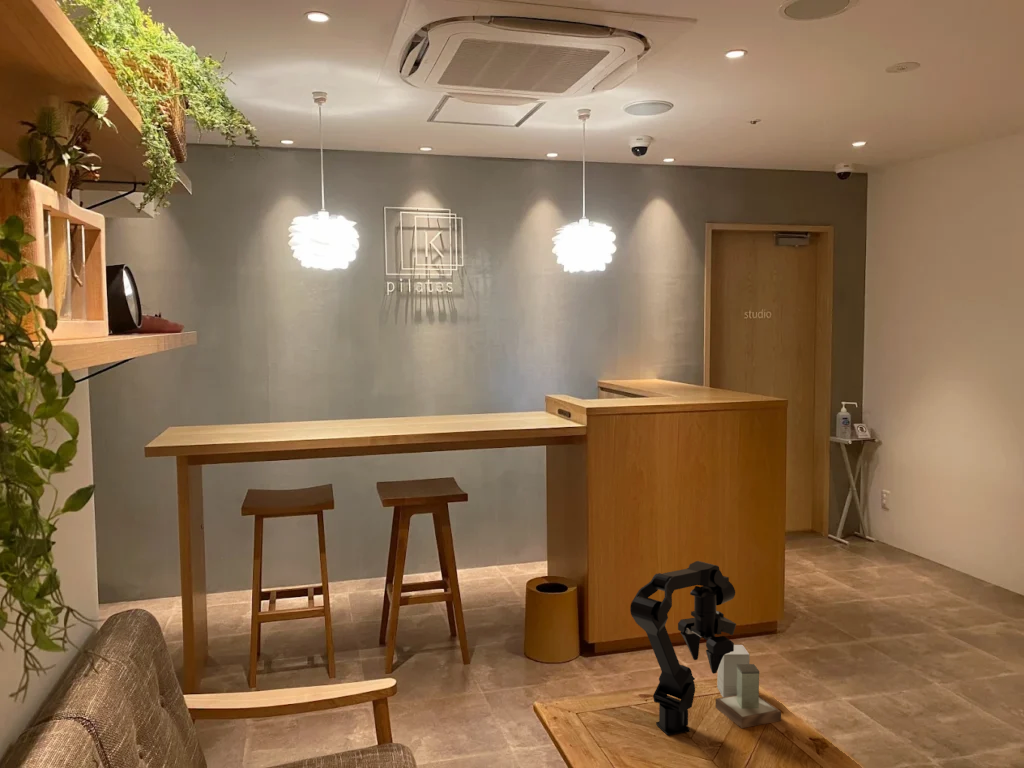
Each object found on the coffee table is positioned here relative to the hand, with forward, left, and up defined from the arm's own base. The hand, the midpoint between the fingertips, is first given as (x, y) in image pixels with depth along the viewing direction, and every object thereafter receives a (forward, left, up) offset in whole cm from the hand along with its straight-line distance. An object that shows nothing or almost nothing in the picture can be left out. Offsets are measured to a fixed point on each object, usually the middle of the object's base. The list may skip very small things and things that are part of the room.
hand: (704, 666), depth 220 cm
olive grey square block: (+9, -6, -9) cm, 15 cm away
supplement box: (+13, +6, -12) cm, 19 cm away
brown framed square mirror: (+9, -6, -12) cm, 16 cm away
